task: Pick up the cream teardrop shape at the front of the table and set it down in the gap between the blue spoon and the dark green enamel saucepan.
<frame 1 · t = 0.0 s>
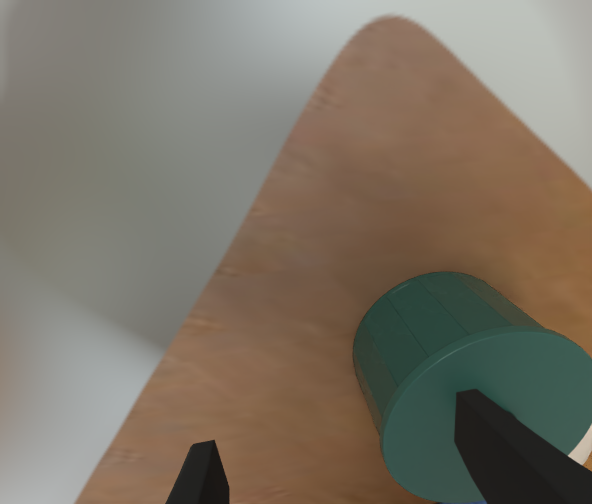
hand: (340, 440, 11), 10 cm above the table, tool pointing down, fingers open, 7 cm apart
cream teardrop shape: (551, 425, 27), on the table
saucepan lid: (486, 418, 17), point 6 cm above the table, touching saucepan
saucepan: (430, 342, 23), on the table
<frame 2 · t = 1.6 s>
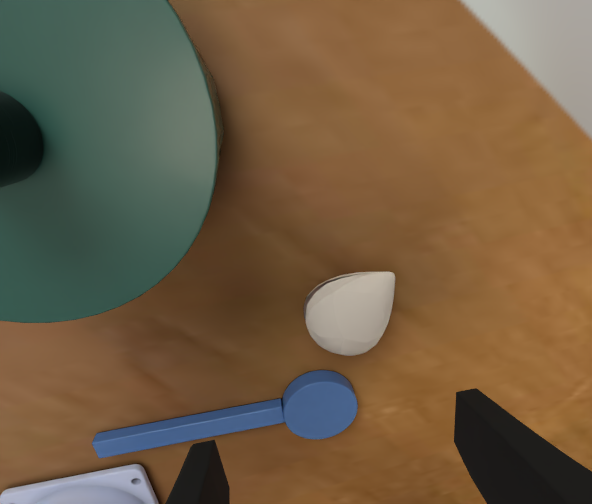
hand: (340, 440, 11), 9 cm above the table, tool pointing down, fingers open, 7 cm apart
cream teardrop shape: (347, 293, 19), on the table
saucepan lid: (7, 135, 9), point 6 cm above the table, touching saucepan
saucepan: (97, 122, 15), on the table
blue spoon: (220, 417, 21), on the table
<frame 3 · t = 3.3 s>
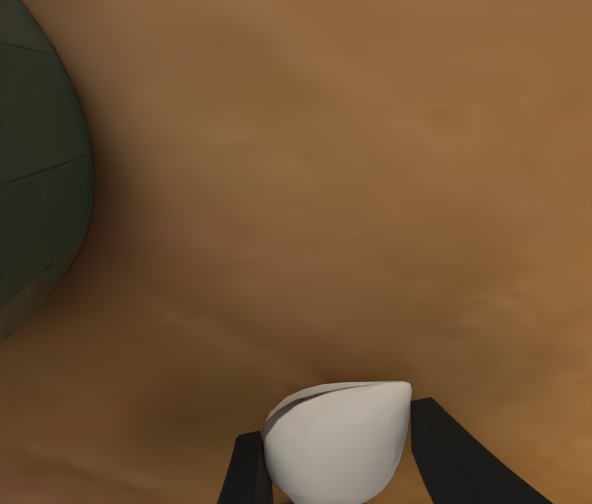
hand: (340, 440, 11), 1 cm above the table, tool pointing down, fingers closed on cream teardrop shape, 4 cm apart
cream teardrop shape: (335, 398, 12), on the table, touching gripper
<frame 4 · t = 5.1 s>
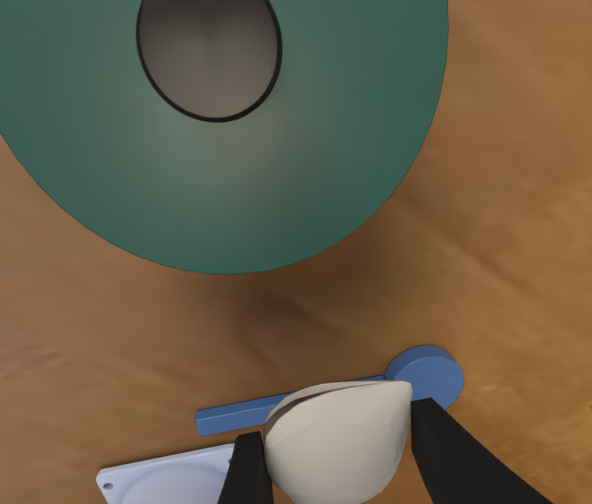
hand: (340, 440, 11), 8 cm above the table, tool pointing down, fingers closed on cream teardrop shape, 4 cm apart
cream teardrop shape: (335, 398, 12), point 6 cm above the table, touching gripper
saucepan lid: (224, 65, 9), point 6 cm above the table, touching saucepan
blue spoon: (320, 394, 20), on the table
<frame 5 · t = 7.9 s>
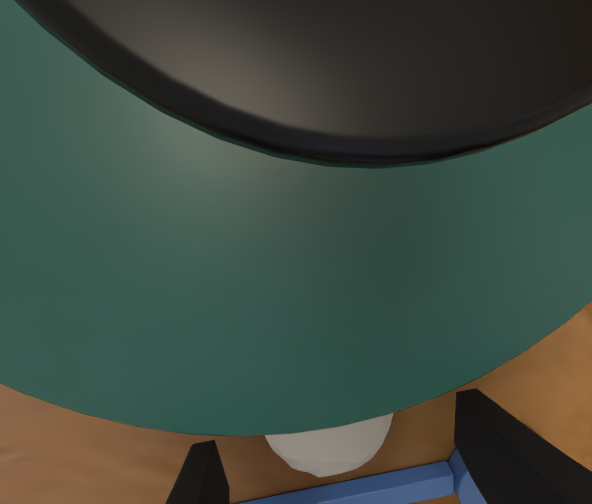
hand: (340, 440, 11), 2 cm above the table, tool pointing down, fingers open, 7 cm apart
cream teardrop shape: (330, 374, 13), on the table
blue spoon: (363, 486, 15), on the table
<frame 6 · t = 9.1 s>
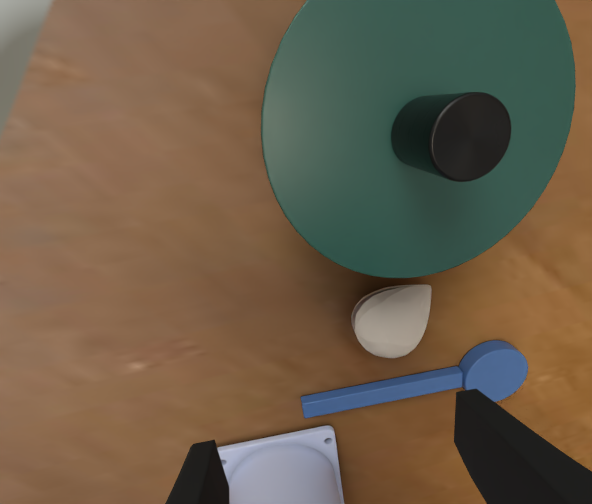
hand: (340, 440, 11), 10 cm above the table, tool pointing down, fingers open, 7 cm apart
cream teardrop shape: (387, 303, 22), on the table
saucepan lid: (416, 131, 12), point 6 cm above the table, touching saucepan
blue spoon: (404, 383, 24), on the table
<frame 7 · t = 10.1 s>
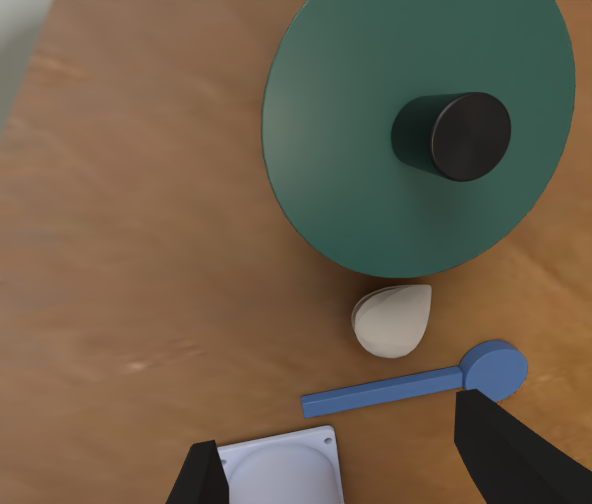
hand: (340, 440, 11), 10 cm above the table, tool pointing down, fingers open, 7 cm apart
cream teardrop shape: (387, 303, 22), on the table
saucepan lid: (416, 131, 12), point 6 cm above the table, touching saucepan
blue spoon: (404, 383, 24), on the table
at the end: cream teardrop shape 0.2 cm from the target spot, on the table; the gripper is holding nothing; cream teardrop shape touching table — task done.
